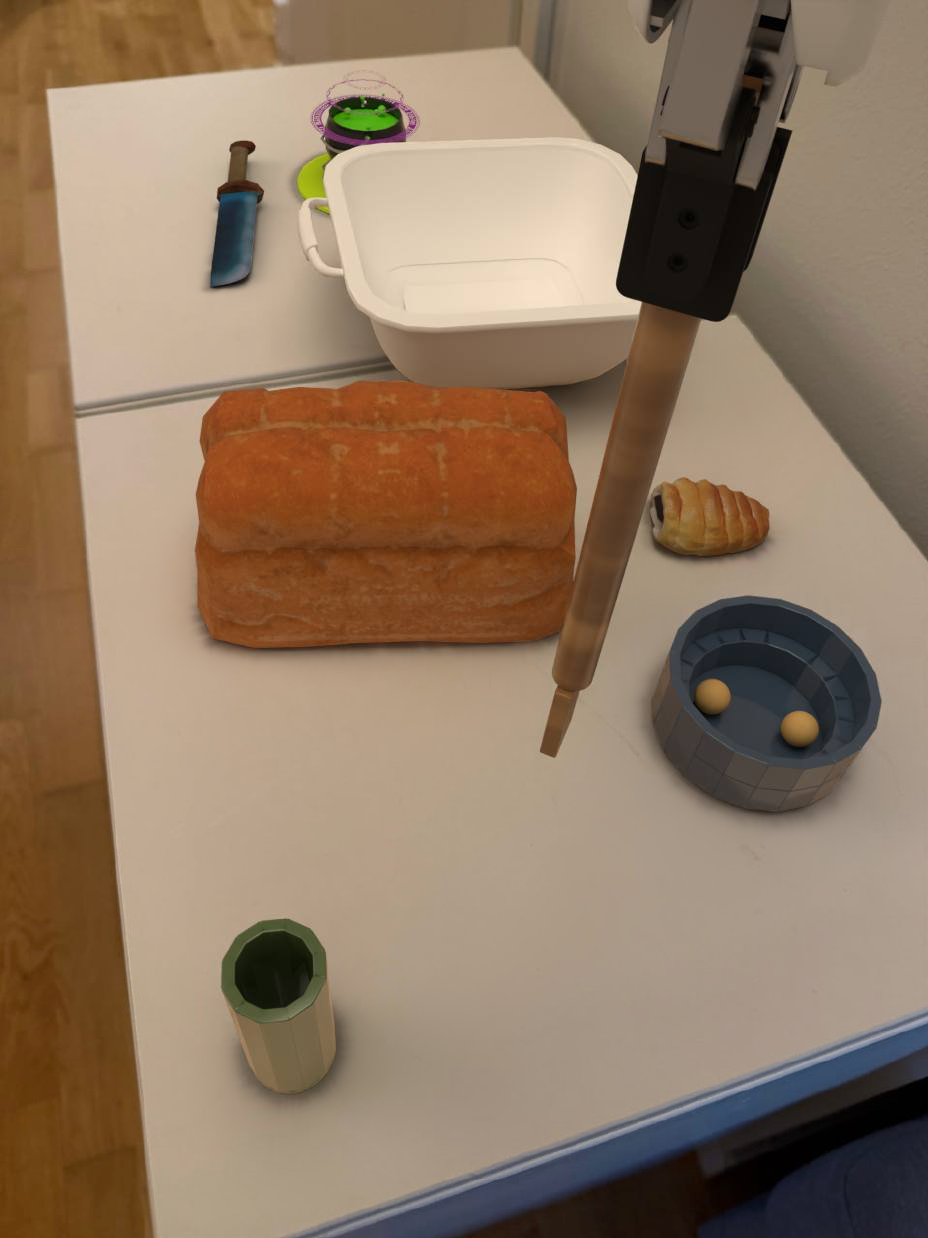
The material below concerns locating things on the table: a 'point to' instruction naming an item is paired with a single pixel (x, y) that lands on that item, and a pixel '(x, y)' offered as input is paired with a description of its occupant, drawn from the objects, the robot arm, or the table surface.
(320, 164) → the toy cauldron
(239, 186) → the knife
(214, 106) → the table surface
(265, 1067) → the utensil pot
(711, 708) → the chickpea
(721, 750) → the bowl
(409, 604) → the bread
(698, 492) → the pastry
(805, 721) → the chickpea
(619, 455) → the wooden dowel rod
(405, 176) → the baking dish
